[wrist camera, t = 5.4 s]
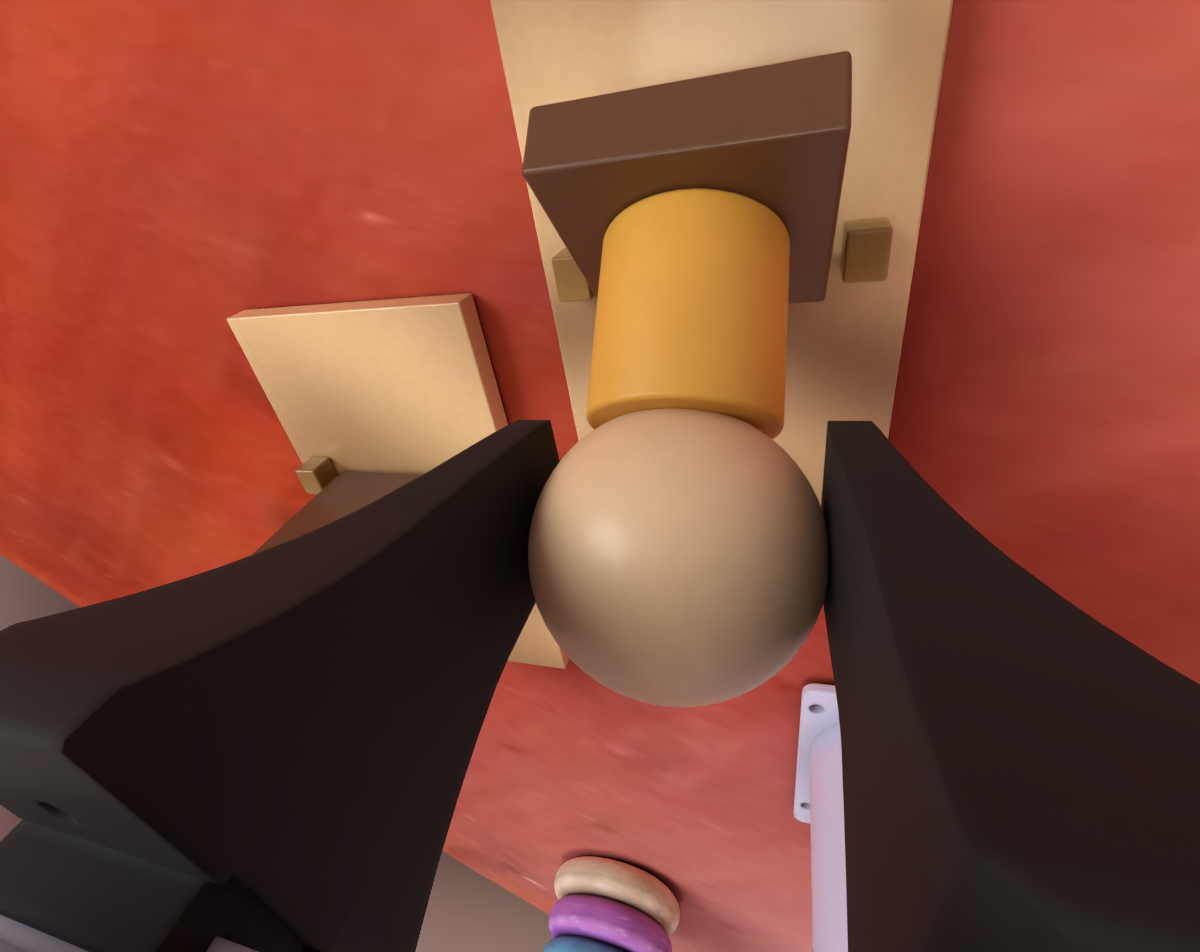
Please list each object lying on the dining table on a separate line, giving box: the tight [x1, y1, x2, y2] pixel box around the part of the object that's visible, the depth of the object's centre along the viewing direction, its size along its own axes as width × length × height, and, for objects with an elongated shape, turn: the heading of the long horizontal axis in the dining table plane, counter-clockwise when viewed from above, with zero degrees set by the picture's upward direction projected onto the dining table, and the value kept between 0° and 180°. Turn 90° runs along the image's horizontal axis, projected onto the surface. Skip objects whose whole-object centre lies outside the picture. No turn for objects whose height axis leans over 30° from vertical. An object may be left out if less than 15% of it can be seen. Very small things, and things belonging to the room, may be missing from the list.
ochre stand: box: [490, 0, 954, 506], centre depth 14 cm, size 15×8×2 cm, turn 9°
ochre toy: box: [522, 51, 852, 708], centre depth 9 cm, size 9×5×5 cm
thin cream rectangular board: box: [227, 293, 569, 669], centre depth 20 cm, size 15×8×2 cm, turn 9°
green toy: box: [252, 472, 423, 555], centre depth 20 cm, size 9×5×5 cm, turn 9°
